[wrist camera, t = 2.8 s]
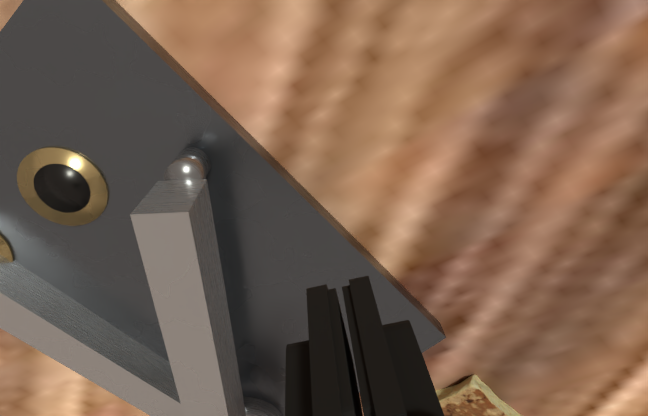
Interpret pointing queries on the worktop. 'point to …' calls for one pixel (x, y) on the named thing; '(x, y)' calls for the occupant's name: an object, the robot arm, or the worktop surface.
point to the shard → (472, 400)
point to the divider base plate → (129, 190)
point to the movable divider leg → (190, 287)
